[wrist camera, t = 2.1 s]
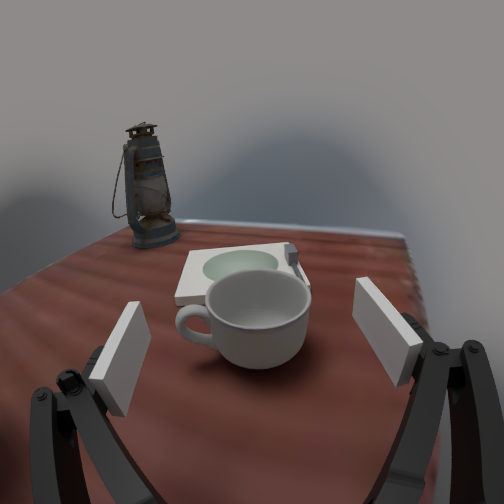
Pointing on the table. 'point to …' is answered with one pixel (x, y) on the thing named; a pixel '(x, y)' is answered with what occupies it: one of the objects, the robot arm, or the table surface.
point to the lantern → (147, 190)
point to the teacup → (252, 317)
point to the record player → (232, 267)
